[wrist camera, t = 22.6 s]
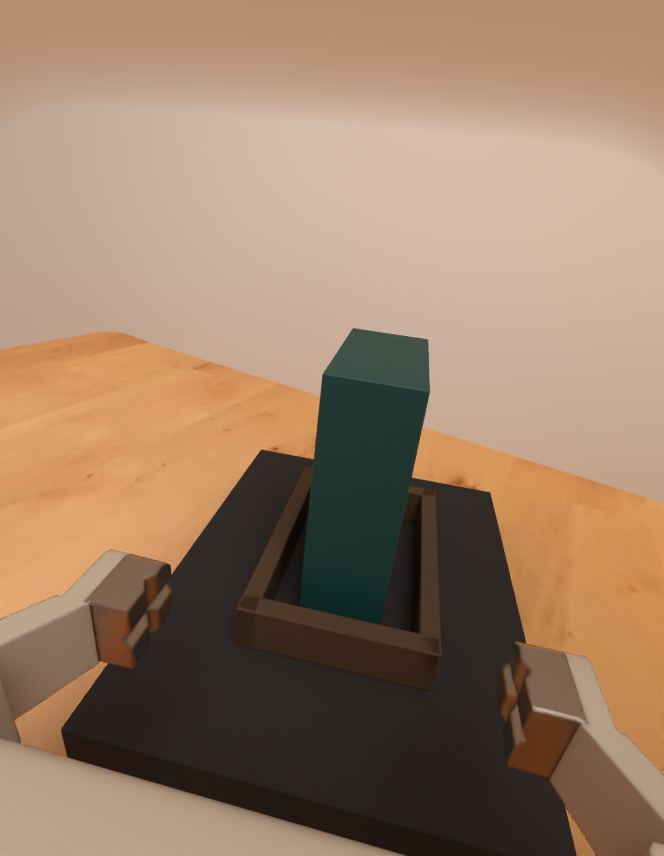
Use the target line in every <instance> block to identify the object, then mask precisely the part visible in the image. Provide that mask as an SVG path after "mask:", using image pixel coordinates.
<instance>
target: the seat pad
mask: <svg viewBox="0 0 664 856" xmlns="http://www.w3.org/2000/svg"><path fill="white" fill-rule="evenodd" d="M313 463H314V459H309V458H303V457H298V456H293V455H287V454H282V453H277V452H271V451H266V450H261V451H260V452H259V454H258V455H257V456H256V458H255V459H254V460H253V462H252V463H251V465H250V466H249V467H248V469H247V470H246V472H245V473H244V474H243V476H242V477H241V479H240V480H239V481H238V483H237V484H236V486H235V487H234V488H233V490H232V491H231V493H230V494H229V495H228V497H227V498H226V500H225V501H224V502H223V504H222V505H221V507H220V508H219V509H218V511H217V512H216V514H215V515H214V516H213V518H212V519H211V521H210V522H209V523H208V525H207V526H206V528H205V529H204V530H203V532H202V533H201V534H200V536H199V537H198V539H197V540H196V541H195V543H194V544H193V546H192V547H191V548H190V550H189V551H188V553H187V554H186V555H185V557H184V558H183V560H182V561H181V562H180V564H179V565H178V567H177V568H176V569H175V571H174V572H173V574H172V575H171V577H170V578H169V580H168V581H167V583H168V584H169V586H170V587H171V588H172V596H173V598H172V604H171V608H170V611H169V613H168V616H167V618H166V620H165V622H164V623H163V625H162V627H161V628H160V629H159V630H157V631H155V632H154V633H152V634H150V635H149V641H150V645H149V647H148V648H147V650H146V651H145V653H144V654H143V656H142V657H141V659H140V660H139V662H138V663H137V665H136V666H135V668H134V669H132V668H127V667H123V666H118V665H114V664H110V663H108V664H107V666H106V667H105V669H104V670H103V671H102V673H101V674H100V676H99V677H98V678H97V680H96V681H95V682H94V684H93V685H92V687H91V688H90V689H89V691H88V692H87V694H86V695H85V696H84V698H83V699H82V701H81V702H80V703H79V705H78V706H77V708H76V709H75V710H74V712H73V713H72V715H71V716H70V717H69V719H68V720H67V722H66V723H65V724H64V726H63V727H62V729H61V732H62V737H63V741H64V745H65V749H66V753H67V757H68V758H71V759H75V760H78V761H81V762H85V763H88V764H92V765H95V766H99V767H102V768H106V769H109V770H112V771H116V772H119V773H123V774H126V775H130V776H133V777H137V778H140V779H143V780H147V781H150V782H154V783H157V784H161V785H164V786H168V787H171V788H175V789H178V790H181V791H185V792H188V793H192V794H195V795H199V796H202V797H206V798H209V799H213V800H216V801H219V802H223V803H226V804H230V805H233V806H237V807H240V808H244V809H247V810H251V811H254V812H257V813H261V814H264V815H268V816H271V817H275V818H278V819H282V820H285V821H289V822H292V823H296V824H299V825H302V826H306V827H309V828H313V829H316V830H320V831H323V832H327V833H330V834H333V835H337V836H340V837H344V838H347V839H351V840H354V841H357V842H361V843H364V844H368V845H371V846H375V847H378V848H382V849H385V850H388V851H392V852H395V853H399V854H402V855H406V856H577V855H576V851H575V847H574V842H573V838H572V834H571V830H570V826H569V821H568V817H567V813H566V809H565V805H564V803H563V801H562V800H561V798H560V797H559V795H558V793H557V792H556V790H555V789H554V787H553V785H552V784H551V782H550V781H549V780H550V778H548V777H544V776H541V775H537V774H534V773H530V772H527V771H524V770H520V769H517V768H513V767H510V766H507V762H506V755H505V749H504V742H503V736H502V732H503V730H504V727H505V725H506V721H505V720H504V718H503V717H502V716H501V714H500V713H499V708H498V701H497V687H498V679H499V675H500V672H501V669H502V667H503V666H504V665H506V664H508V663H510V661H509V656H508V651H509V649H510V647H511V645H512V644H513V643H514V642H515V641H516V642H520V643H525V644H526V641H525V636H524V632H523V628H522V624H521V620H520V615H519V611H518V607H517V603H516V599H515V594H514V590H513V586H512V582H511V578H510V573H509V569H508V565H507V561H506V557H505V552H504V548H503V544H502V540H501V535H500V531H499V527H498V523H497V519H496V514H495V510H494V506H493V502H492V498H491V493H490V492H485V491H479V490H474V489H469V488H463V487H458V486H453V485H447V484H442V483H437V482H431V481H426V480H421V479H415V478H411V483H410V488H409V492H408V497H407V502H406V506H405V511H404V516H403V520H402V525H401V530H400V534H399V539H398V544H397V548H396V553H395V558H394V563H393V567H392V572H391V577H390V581H389V586H388V591H387V595H386V600H385V605H384V609H383V614H382V619H381V623H380V625H378V624H374V623H370V622H365V621H361V620H357V619H352V618H348V617H343V616H339V615H335V614H330V613H326V612H322V611H317V610H313V609H308V608H304V607H300V606H299V598H300V588H301V579H302V569H303V559H304V550H305V540H306V530H307V521H308V511H309V501H310V492H311V482H312V472H313Z"/></svg>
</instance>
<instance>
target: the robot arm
mask: <svg viewBox="0 0 664 856" xmlns="http://www.w3.org/2000/svg"><path fill="white" fill-rule="evenodd" d="M170 577H171V566H170V565H169V564H168V563H165V562H161V561H157V560H153V559H149V558H145V557H141V556H137V555H133V554H128V553H124V552H120V551H116V550H112V549H111V550H109V551H107V552H105V553H104V554H103V555H102V556H101V557H100V558H99V559H98V560H97V561H96V562H95V563H94V564H93V565H92V566H91V567H90V568H89V569H88V570H87V571H86V572H85V573H84V574H83V575H82V576H81V577H80V578H79V579H78V580H77V581H76V582H75V583H74V584H73V585H72V586H71V588H70V589H69V590H68V591H67V592H66V593H65V594H64V595H63V596H58V595H55V596H53V597H51V598H48V599H46V600H44V601H41V602H39V603H37V604H34V605H32V606H30V607H27V608H25V609H23V610H20V611H18V612H16V613H13V614H11V615H9V616H6V617H4V618H2V619H0V856H406V855H402V854H399V853H395V852H392V851H388V850H385V849H382V848H378V847H375V846H371V845H368V844H364V843H361V842H357V841H354V840H351V839H347V838H344V837H340V836H337V835H333V834H330V833H327V832H323V831H320V830H316V829H313V828H309V827H306V826H302V825H299V824H296V823H292V822H289V821H285V820H282V819H278V818H275V817H271V816H268V815H264V814H261V813H257V812H254V811H251V810H247V809H244V808H240V807H237V806H233V805H230V804H226V803H223V802H219V801H216V800H213V799H209V798H206V797H202V796H199V795H195V794H192V793H188V792H185V791H181V790H178V789H175V788H171V787H168V786H164V785H161V784H157V783H154V782H150V781H147V780H143V779H140V778H137V777H133V776H130V775H126V774H123V773H119V772H116V771H112V770H109V769H106V768H102V767H99V766H95V765H92V764H88V763H85V762H81V761H78V760H75V759H71V758H68V757H64V756H61V755H57V754H54V753H50V752H47V751H43V750H40V749H37V748H33V747H30V746H26V745H23V744H21V739H20V736H19V733H18V730H17V726H16V723H15V720H16V719H17V718H18V717H20V716H21V715H23V714H24V713H26V712H27V711H29V710H30V709H32V708H33V707H35V706H36V705H38V704H39V703H41V702H42V701H44V700H45V699H47V698H48V697H50V696H51V695H53V694H54V693H56V692H57V691H59V690H60V689H61V688H63V687H64V686H66V685H67V684H69V683H70V682H72V681H73V680H75V679H76V678H78V677H79V676H81V675H82V674H84V673H85V672H87V671H88V670H90V669H91V668H93V667H94V666H96V665H97V664H98V663H99V661H101V662H105V663H110V664H114V665H118V666H123V667H127V668H132V669H134V668H135V666H136V665H137V663H138V662H139V660H140V659H141V657H142V656H143V654H144V653H145V651H146V650H147V648H148V647H149V645H150V641H149V635H150V634H152V633H154V632H155V631H157V630H159V629H160V628H161V627H162V625H163V623H164V622H165V620H166V618H167V616H168V613H169V611H170V608H171V604H172V598H173V596H172V588H171V587H170V586H169V584H168V583H167V581H168V580H169V578H170ZM508 656H509V661H510V663H508V664H506V665H504V666H503V667H502V669H501V672H500V675H499V679H498V687H497V701H498V708H499V713H500V714H501V716H502V717H503V718H504V720H505V721H506V725H505V727H504V730H503V732H502V736H503V742H504V749H505V755H506V762H507V766H510V767H513V768H517V769H520V770H524V771H527V772H530V773H534V774H537V775H541V776H544V777H548V778H550V780H549V781H550V782H551V784H552V785H553V787H554V789H555V790H556V792H557V793H558V795H559V797H560V798H561V800H562V801H563V803H564V805H565V806H566V808H567V809H568V811H569V813H570V814H571V816H572V817H573V819H574V821H575V822H576V824H577V825H578V827H579V829H580V830H581V832H582V833H583V835H584V837H585V838H586V840H587V841H588V843H589V845H590V846H591V848H592V849H593V851H594V853H595V854H596V856H664V775H663V774H662V773H661V771H660V770H659V769H658V768H657V767H656V766H655V765H654V764H653V763H652V762H651V761H650V760H649V759H648V758H647V757H646V755H645V754H644V753H643V752H642V751H641V750H640V749H639V748H638V747H637V746H636V745H635V744H634V743H633V742H632V741H631V739H630V738H629V737H628V736H627V735H626V734H624V733H621V732H617V729H616V727H615V724H614V722H613V719H612V716H611V714H610V711H609V709H608V706H607V703H606V701H605V698H604V695H603V693H602V690H601V688H600V685H599V682H598V680H597V677H596V674H595V672H594V669H593V667H592V664H591V662H590V660H589V659H588V658H587V657H585V656H580V655H575V654H571V653H566V652H560V651H557V650H553V649H548V648H543V647H539V646H534V645H530V644H525V643H520V642H516V641H515V642H514V643H513V644H512V645H511V647H510V649H509V651H508Z"/></svg>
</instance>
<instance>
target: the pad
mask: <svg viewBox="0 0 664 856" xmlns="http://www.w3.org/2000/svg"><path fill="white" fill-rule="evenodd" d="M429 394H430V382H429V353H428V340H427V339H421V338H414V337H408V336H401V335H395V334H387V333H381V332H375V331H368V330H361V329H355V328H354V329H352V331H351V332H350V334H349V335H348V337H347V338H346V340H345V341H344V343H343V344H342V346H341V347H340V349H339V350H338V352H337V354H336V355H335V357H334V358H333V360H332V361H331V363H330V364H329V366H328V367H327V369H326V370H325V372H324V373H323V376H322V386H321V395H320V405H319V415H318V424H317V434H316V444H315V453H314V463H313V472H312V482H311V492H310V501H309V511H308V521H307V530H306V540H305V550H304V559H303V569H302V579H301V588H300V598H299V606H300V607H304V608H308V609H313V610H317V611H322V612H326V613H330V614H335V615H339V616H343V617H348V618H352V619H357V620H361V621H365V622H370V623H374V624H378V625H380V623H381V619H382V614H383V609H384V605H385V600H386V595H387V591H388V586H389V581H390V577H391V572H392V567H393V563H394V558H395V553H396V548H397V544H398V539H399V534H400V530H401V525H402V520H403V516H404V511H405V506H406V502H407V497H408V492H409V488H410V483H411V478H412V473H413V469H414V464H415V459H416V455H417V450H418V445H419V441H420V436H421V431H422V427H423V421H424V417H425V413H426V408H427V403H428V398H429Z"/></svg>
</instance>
